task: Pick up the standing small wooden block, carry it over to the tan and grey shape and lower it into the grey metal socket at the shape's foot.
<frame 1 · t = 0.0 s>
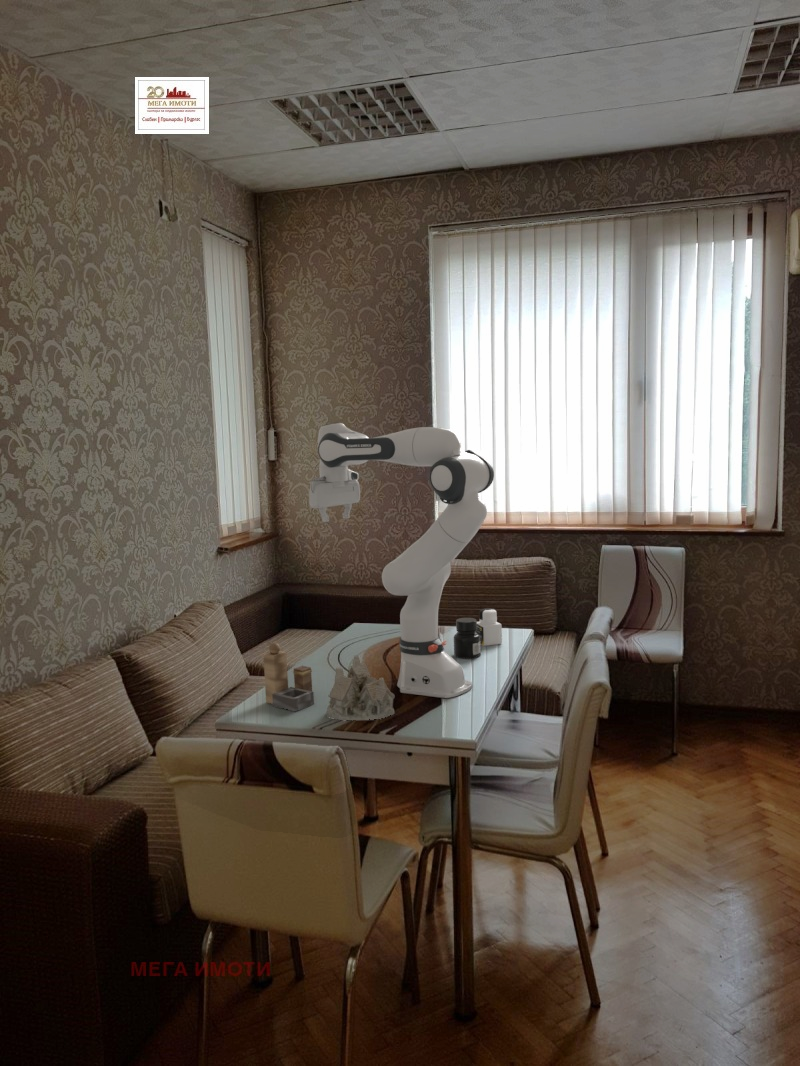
hand: (336, 520, 248), 48 cm above the table, tool pointing down, fingers open, 8 cm apart
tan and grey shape: (295, 705, 221), on the table
ceramic cottage: (360, 714, 213), on the table
medicine bottle: (488, 643, 278), on the table
small wooden block: (303, 694, 230), on the table
ink bottle: (467, 655, 264), on the table
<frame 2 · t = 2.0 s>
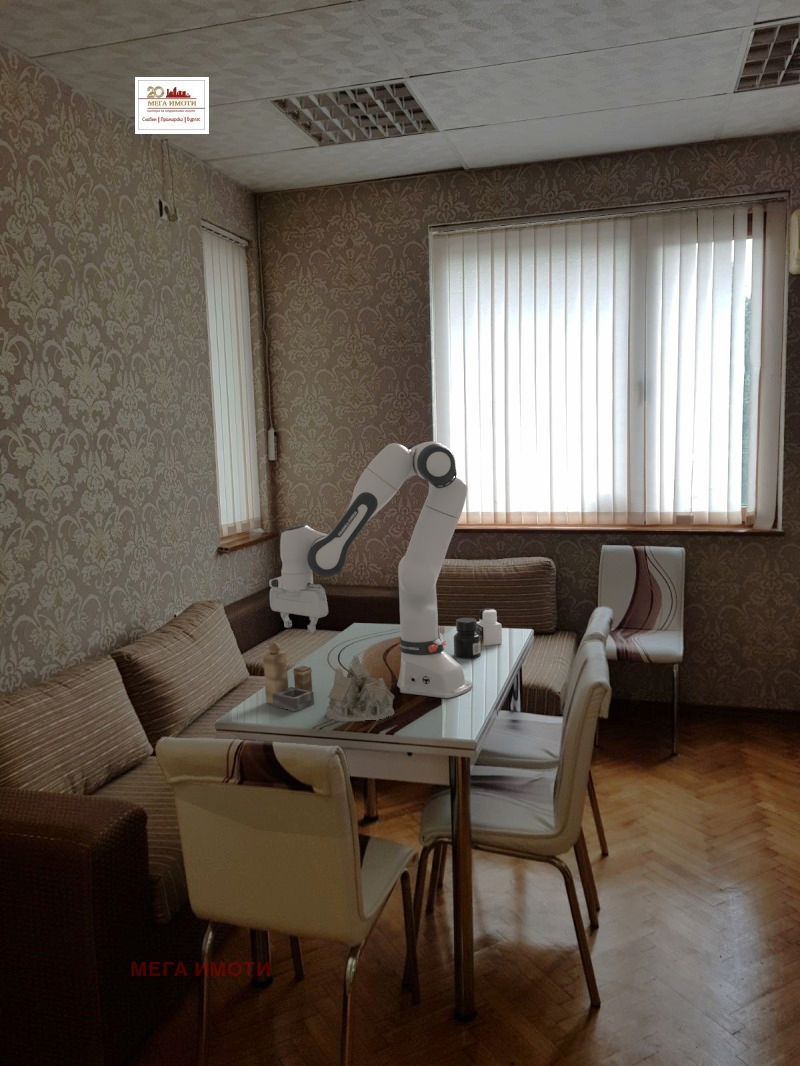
hand: (299, 629, 228), 19 cm above the table, tool pointing down, fingers open, 8 cm apart
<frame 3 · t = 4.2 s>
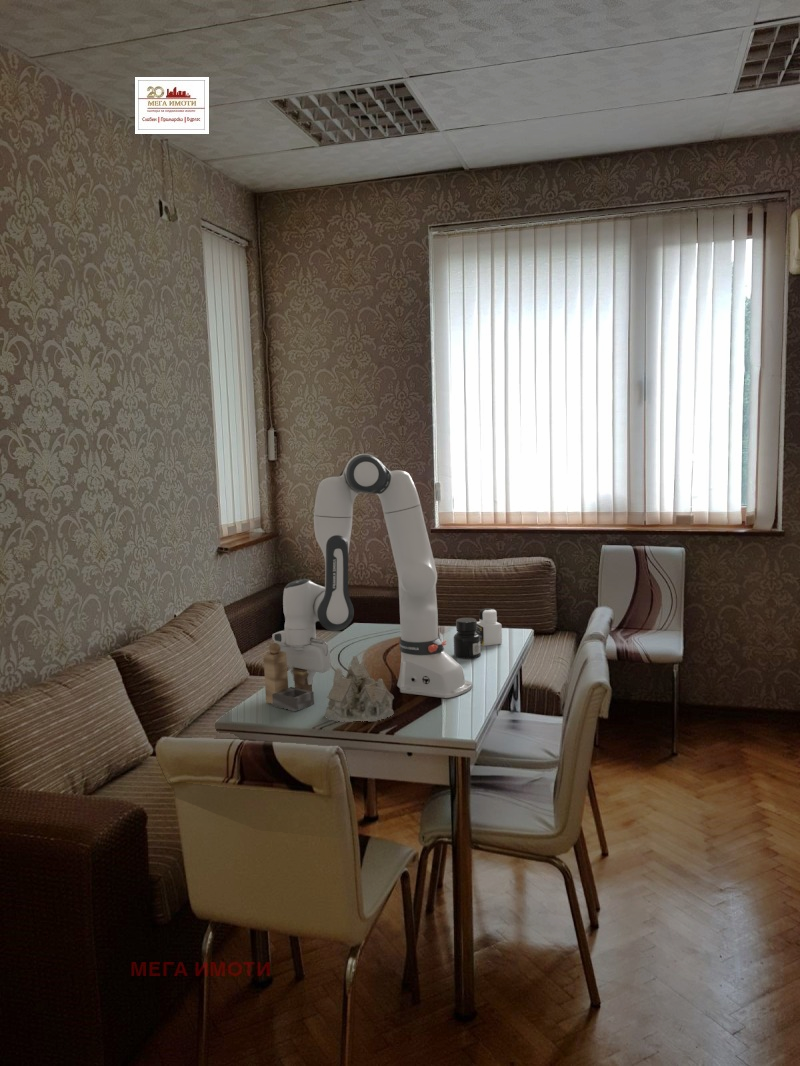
hand: (303, 682, 229), 4 cm above the table, tool pointing down, fingers closed on small wooden block, 3 cm apart
small wooden block: (303, 694, 230), on the table, touching gripper
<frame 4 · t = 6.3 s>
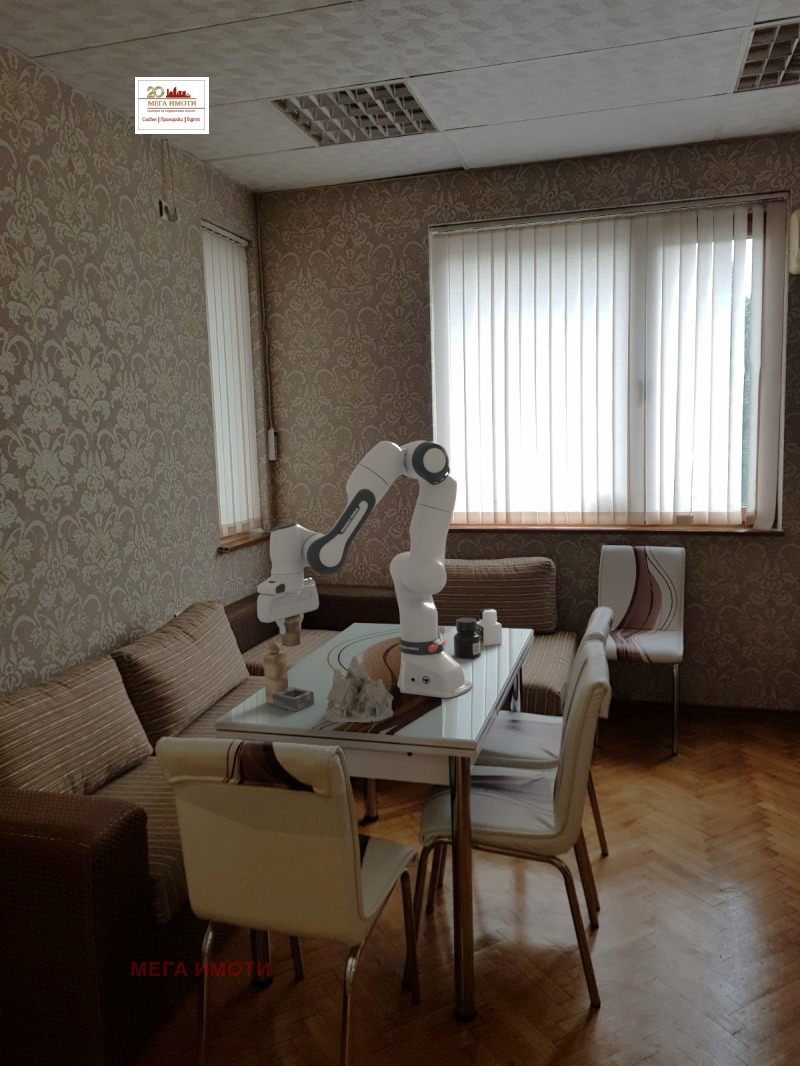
hand: (290, 631, 219), 21 cm above the table, tool pointing down, fingers closed on small wooden block, 3 cm apart
small wooden block: (291, 644, 219), point 17 cm above the table, touching gripper
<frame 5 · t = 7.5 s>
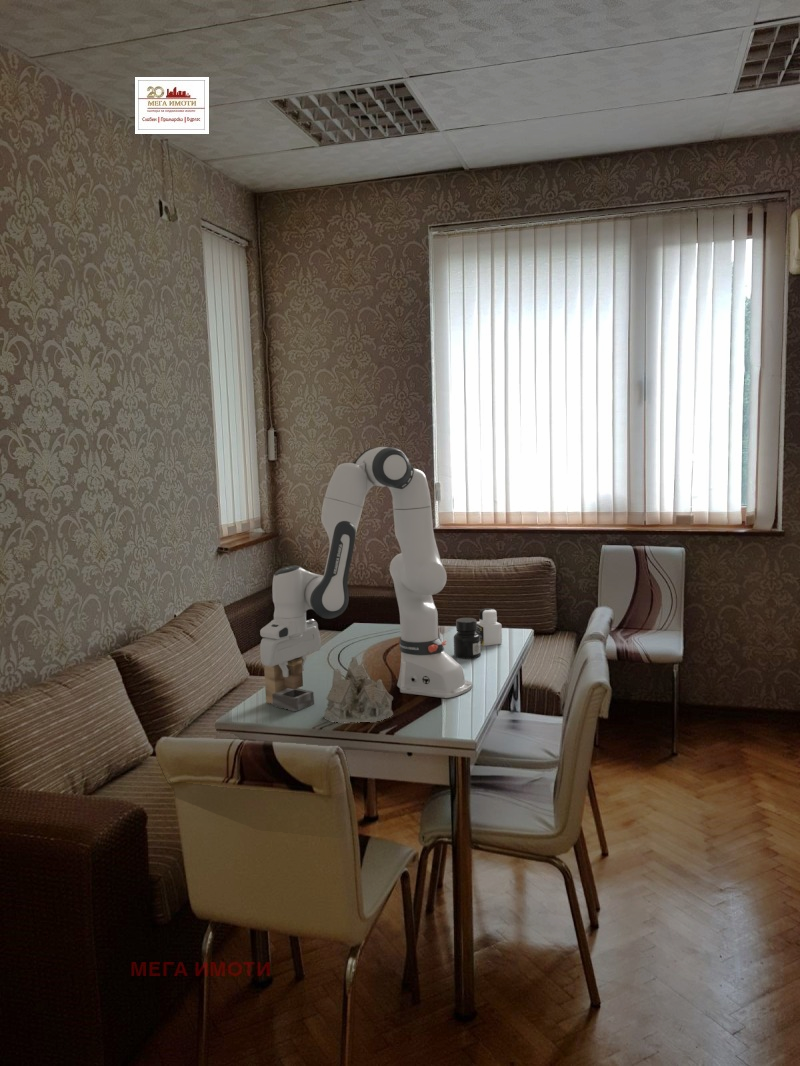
hand: (293, 674, 220), 9 cm above the table, tool pointing down, fingers closed on small wooden block, 3 cm apart
small wooden block: (294, 686, 220), point 5 cm above the table, touching gripper
when the fingers open (5 cm above the table, at t = 8.6 s): small wooden block drops 1 cm, resting in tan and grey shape.
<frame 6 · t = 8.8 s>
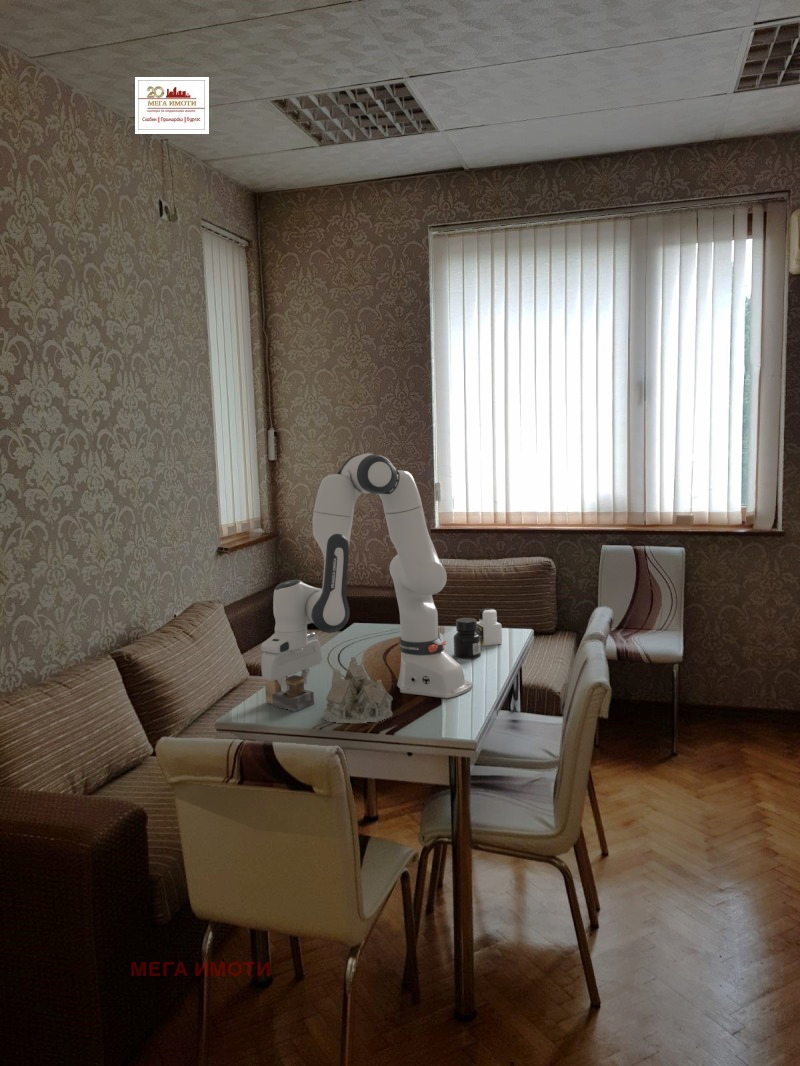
hand: (294, 687, 220), 5 cm above the table, tool pointing down, fingers open, 5 cm apart
small wooden block: (296, 705, 221), resting in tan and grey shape
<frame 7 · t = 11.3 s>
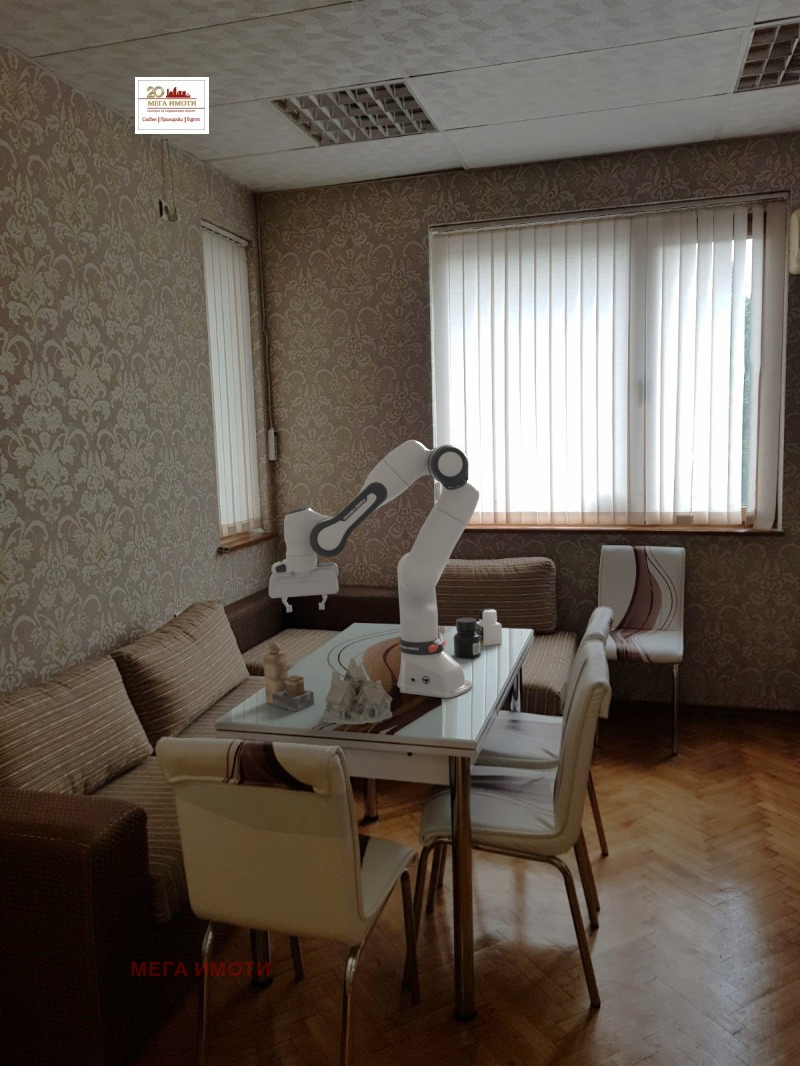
hand: (305, 610, 232), 24 cm above the table, tool pointing down, fingers open, 8 cm apart
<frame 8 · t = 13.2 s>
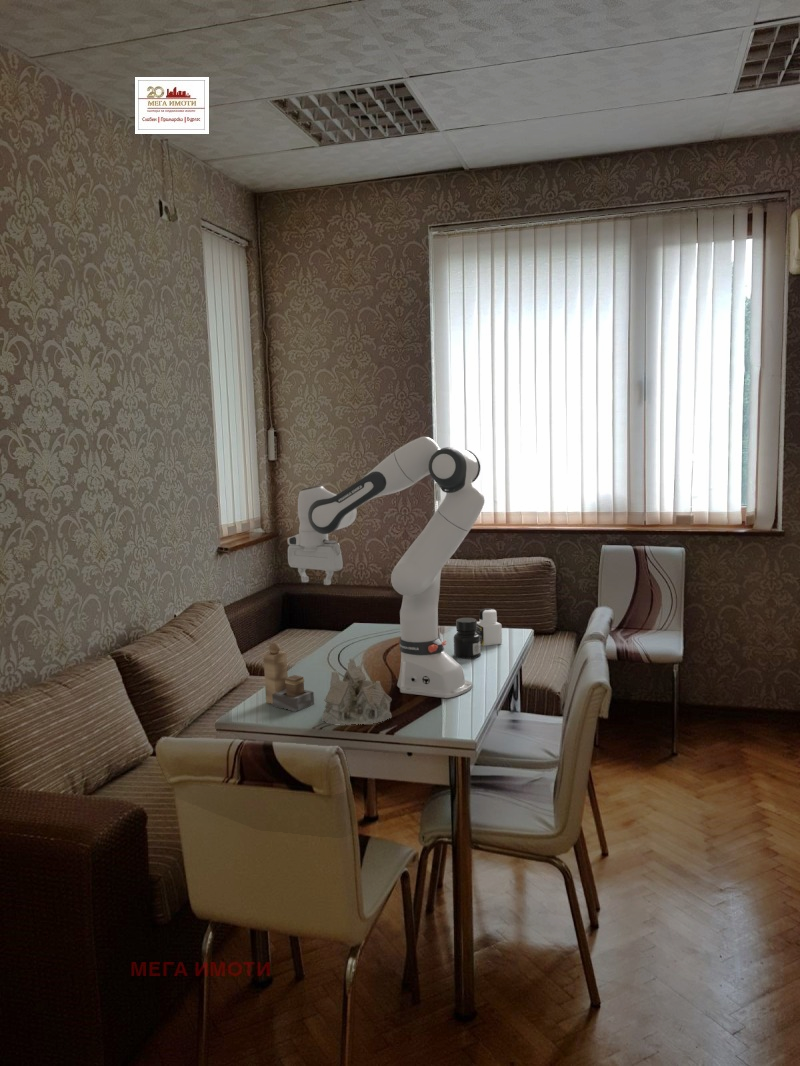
hand: (316, 583, 245), 29 cm above the table, tool pointing down, fingers open, 8 cm apart
at the end: small wooden block 0.3 cm off-centre on the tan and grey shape, point 0.0 cm above the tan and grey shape's base; small wooden block tilted 0°; the gripper is holding nothing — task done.
